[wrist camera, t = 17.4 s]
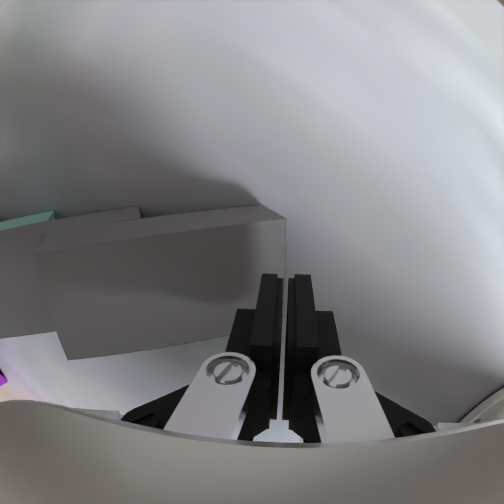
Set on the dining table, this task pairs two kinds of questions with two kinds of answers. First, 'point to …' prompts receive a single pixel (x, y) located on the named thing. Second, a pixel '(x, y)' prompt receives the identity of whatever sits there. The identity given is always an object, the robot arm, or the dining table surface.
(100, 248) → the tile
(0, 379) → the arrowhead
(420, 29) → the dining table surface
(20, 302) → the tile
